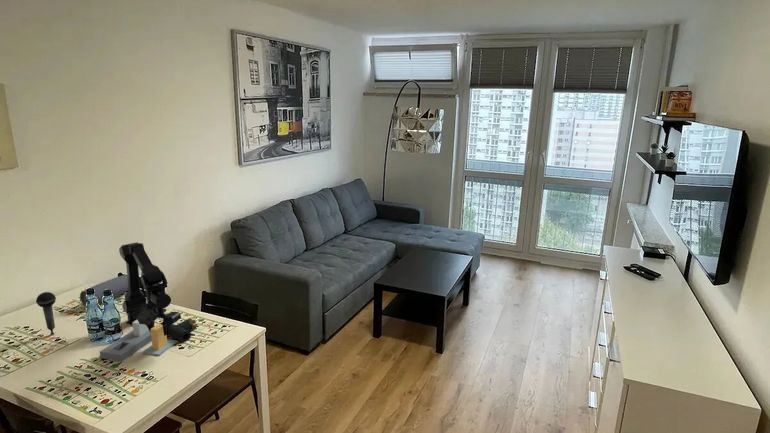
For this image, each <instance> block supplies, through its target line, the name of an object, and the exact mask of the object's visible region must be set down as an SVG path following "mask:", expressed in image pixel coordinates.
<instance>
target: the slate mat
mask: <svg viewBox="0 0 770 433" xmlns="http://www.w3.org/2000/svg"><path fill="white" fill-rule="evenodd" d="M178 341H179V340H177V339H170V338H167V344H166V345H165V346H163V347H162V348H161V349H159V350H158V349H153V347H152V344H151V345H150V346H148V347H147V348H145V349H144V350H142V354H147V355H151V356H157V357H158V356H159V357H160V356H161V355H162V354H164V353H165V352H167V351H168V350H169V349H171V347H173V346H174V345H175V344H177V343H178Z"/></svg>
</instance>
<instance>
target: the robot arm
mask: <svg viewBox="0 0 770 433" xmlns="http://www.w3.org/2000/svg"><path fill="white" fill-rule="evenodd" d="M118 251H119V255H120V256H121V258H122V259H123V261H124V262H125V264H126V266H125V268H126V275H127V279H128V291H126V292H125V295H124V300H123V303H122V309H123V311H124V312H125V313H126V314H127V320H126V321H125V324H128V325H133V324H132V323H133V322H134V321H136V320H138V322H139V324H145V325H146V326H147V327H148V329H149V331H150V333H151V330H150V329H151V328H153V327H154V326H155V321H156V320H157V319H162V322H160V324H161V325H162V326H163V332H164V336H166V335H167V333H168V330H169V328H170V325H171V324H175V323H176V322H178V321H179V320H180V319H182V316H181V312H178V311H170V312H168V313H166V312H167V307H169V306H170V305H171V303H172V298H171V296H170V295H169V294H168V293H167V292H166V291H165V290H164V289H165V288H168V281H167V278H166V275H165V273H164V272H163V270H161V269H160V268H159V266H157V265H155V264H153V263H152V261H151V259H150V257H149V256H148V254H147V251H146V250H145V247H144V243H142V242H141V243H140V242H132V243H131V242H130V243H127V244H122V245H121V246H120V247H119V249H118ZM139 270H140V271H141V272H140V271H139ZM140 274H141V276H140ZM140 282H141V284H142V286H143V288H144V292H145V294H146V295H145V294H144V293H143V292H142V291H141V285H140ZM167 336H168V335H167Z"/></svg>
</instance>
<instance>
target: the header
mask: <svg viewBox="0 0 770 433" xmlns="http://www.w3.org/2000/svg"><path fill="white" fill-rule="evenodd" d="M150 343H152V338H151V333H150V331H148V332H146V333H145V334H143V335H142V336H140V337H139V336H134V331H133V330H131V331H130V332H128V333H127V334H124V336H121V337H120V338H119V339H117V340H116V341H114V342H112V343H110V344H109V345H108V346H106V347H105V348H103V349H101V350H100V351H99V355H100V359H103V360H108V361H109V360H110V361H115V362H118V363H119V362H123V361H126V360H127V359H128V358H130V357H131V356H133V354H136V353H137V352H138V351H140V350H142V348H144V347H145V346H147V345H148V344H150Z"/></svg>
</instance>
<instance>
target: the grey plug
mask: <svg viewBox="0 0 770 433" xmlns="http://www.w3.org/2000/svg"><path fill="white" fill-rule="evenodd" d="M131 325H132V331H134V336H139V337H140V336H142V335H143V334H145V333H146V332H148V331H149V329H148V327H147V326H146V325H145V324H139V322H138V320H136V321H134V322H133V323H132V324H131Z"/></svg>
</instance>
